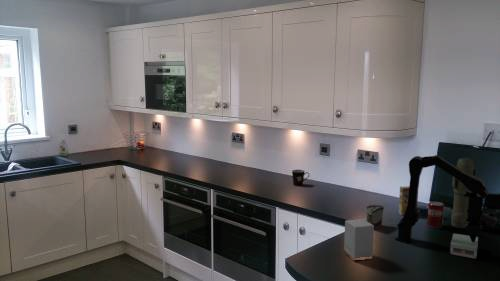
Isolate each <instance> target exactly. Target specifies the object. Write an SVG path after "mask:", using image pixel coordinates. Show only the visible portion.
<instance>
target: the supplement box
mask: <svg viewBox="0 0 500 281" xmlns="http://www.w3.org/2000/svg"><path fill="white" fill-rule="evenodd" d="M374 230H375V229H374V225H372V224H370V223H369V222H367V220H365V219H364V218H358V219H348V220H345V221H344V240H343V247H344V248H343V251H344V250H345V251H346V252H347V253H348V254H350V255H351V256H352V257H354V258H360V257H370V256H372V257H373V252H374V251H373V250H374V248H373V247H374V234H375V233H374Z"/></svg>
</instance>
